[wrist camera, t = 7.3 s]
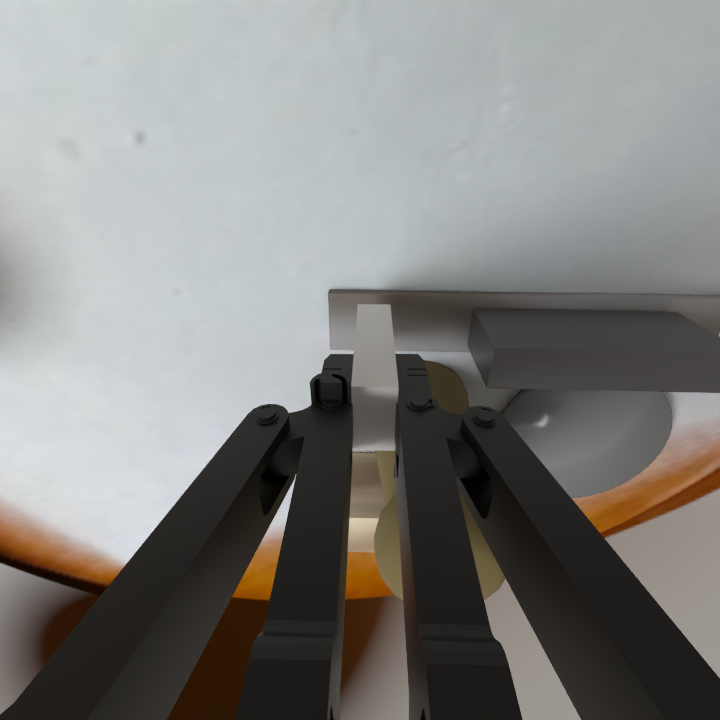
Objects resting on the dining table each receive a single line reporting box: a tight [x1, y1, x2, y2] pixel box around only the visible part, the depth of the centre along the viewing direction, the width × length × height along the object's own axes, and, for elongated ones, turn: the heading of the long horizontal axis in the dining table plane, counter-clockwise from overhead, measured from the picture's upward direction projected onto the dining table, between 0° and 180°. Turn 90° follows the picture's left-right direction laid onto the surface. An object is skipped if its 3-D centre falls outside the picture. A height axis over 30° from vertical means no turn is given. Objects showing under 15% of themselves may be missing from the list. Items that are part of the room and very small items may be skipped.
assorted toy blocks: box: [328, 290, 720, 552], centre depth 21 cm, size 14×20×5 cm
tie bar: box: [467, 309, 720, 393], centre depth 18 cm, size 2×10×4 cm, turn 90°
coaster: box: [502, 389, 672, 498], centre depth 24 cm, size 10×10×1 cm
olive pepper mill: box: [374, 361, 505, 600], centre depth 19 cm, size 6×6×11 cm
